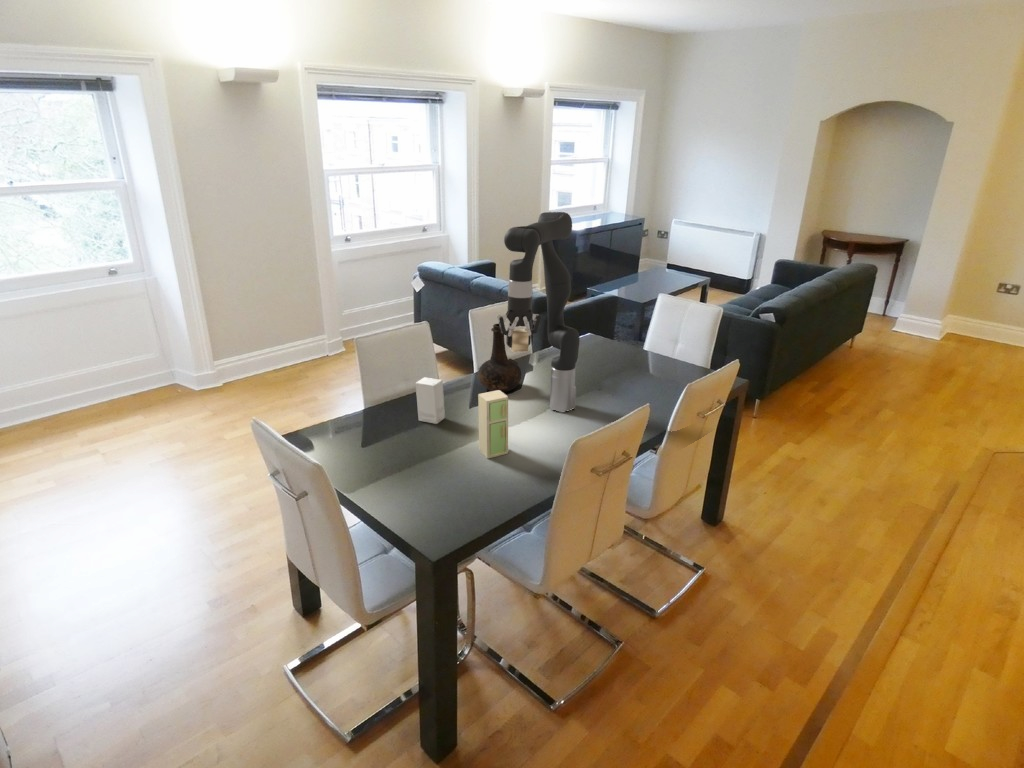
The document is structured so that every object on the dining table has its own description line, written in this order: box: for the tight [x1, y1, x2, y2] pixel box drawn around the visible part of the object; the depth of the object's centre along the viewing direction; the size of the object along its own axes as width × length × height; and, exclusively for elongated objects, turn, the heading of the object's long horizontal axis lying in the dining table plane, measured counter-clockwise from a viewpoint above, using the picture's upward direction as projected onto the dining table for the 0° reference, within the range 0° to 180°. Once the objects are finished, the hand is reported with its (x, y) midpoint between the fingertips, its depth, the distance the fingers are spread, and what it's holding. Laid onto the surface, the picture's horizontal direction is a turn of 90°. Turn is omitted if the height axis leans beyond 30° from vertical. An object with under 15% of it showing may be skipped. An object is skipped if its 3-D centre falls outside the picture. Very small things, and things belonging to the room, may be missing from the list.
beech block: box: [509, 328, 529, 353], centre depth 198 cm, size 5×5×6 cm
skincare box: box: [415, 376, 446, 425], centre depth 230 cm, size 8×7×16 cm
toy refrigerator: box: [477, 390, 509, 459], centre depth 205 cm, size 8×7×21 cm
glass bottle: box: [477, 323, 522, 393], centre depth 257 cm, size 18×18×28 cm
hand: (518, 346), depth 199 cm, fingers closed on beech block, 5 cm apart
